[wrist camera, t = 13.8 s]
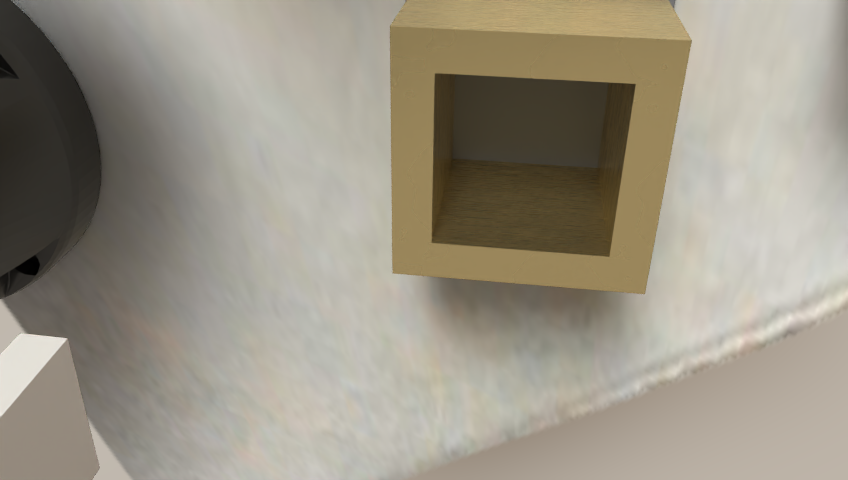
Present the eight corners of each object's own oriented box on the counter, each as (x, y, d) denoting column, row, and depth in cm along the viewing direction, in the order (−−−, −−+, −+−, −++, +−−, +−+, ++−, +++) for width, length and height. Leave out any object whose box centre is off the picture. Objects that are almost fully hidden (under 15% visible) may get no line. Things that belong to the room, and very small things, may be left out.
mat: (410, 190, 32) (408, 194, 31) (410, -44, 27) (409, -42, 27) (638, 206, 31) (639, 210, 30) (678, -34, 26) (680, -31, 26)
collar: (420, 185, 31) (392, 273, 25) (422, -24, 27) (390, 25, 21) (626, 199, 30) (644, 293, 25) (660, -15, 26) (691, 40, 20)
